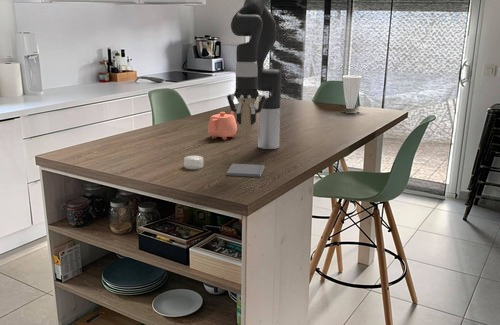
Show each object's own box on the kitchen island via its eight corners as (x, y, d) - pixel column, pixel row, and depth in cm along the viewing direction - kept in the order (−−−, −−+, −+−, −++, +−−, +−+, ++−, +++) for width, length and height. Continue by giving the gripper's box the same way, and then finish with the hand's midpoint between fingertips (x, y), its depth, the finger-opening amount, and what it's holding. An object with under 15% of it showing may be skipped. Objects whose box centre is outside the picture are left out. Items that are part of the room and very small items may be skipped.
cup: (355, 114, 304) (357, 77, 298) (337, 112, 310) (339, 76, 304) (362, 111, 313) (364, 76, 307) (344, 109, 319) (346, 74, 313)
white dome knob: (187, 164, 195) (186, 155, 194) (205, 165, 194) (205, 156, 193) (182, 169, 188) (182, 159, 187) (200, 170, 187) (200, 160, 186)
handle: (240, 137, 186) (240, 96, 182) (256, 139, 183) (257, 97, 180) (235, 140, 181) (235, 98, 177) (252, 141, 179) (252, 99, 175)
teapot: (223, 142, 229) (222, 116, 226) (200, 139, 235) (200, 113, 232) (244, 134, 246) (244, 109, 243) (223, 132, 252) (223, 107, 249)
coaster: (232, 166, 192) (232, 163, 192) (264, 167, 190) (264, 165, 190) (226, 175, 180) (226, 172, 180) (260, 177, 179) (260, 174, 179)
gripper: (268, 74, 179) (267, 122, 184) (228, 73, 181) (228, 121, 185) (265, 76, 172) (265, 126, 176) (224, 75, 174) (224, 125, 178)
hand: (246, 123), depth 181 cm, fingers closed on handle, 4 cm apart
